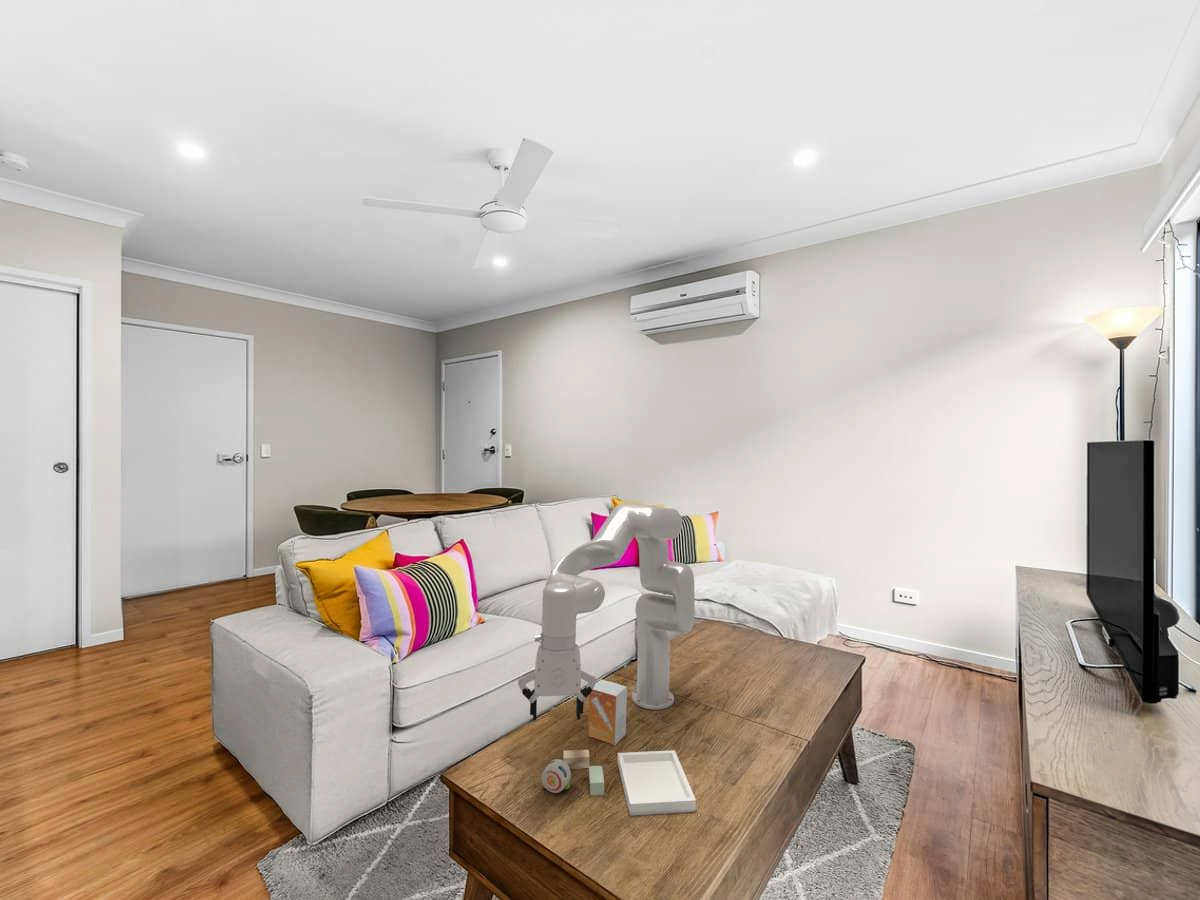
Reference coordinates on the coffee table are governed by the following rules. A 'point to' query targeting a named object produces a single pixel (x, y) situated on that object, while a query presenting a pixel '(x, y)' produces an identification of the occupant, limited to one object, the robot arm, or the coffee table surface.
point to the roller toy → (556, 776)
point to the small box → (607, 712)
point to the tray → (655, 783)
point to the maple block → (576, 758)
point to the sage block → (596, 780)
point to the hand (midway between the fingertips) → (556, 717)
